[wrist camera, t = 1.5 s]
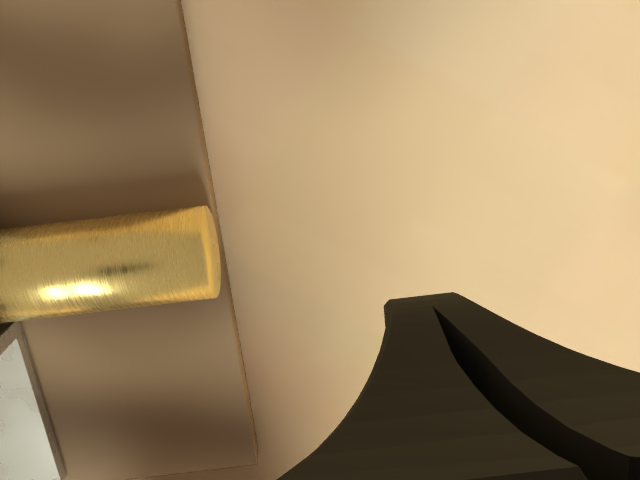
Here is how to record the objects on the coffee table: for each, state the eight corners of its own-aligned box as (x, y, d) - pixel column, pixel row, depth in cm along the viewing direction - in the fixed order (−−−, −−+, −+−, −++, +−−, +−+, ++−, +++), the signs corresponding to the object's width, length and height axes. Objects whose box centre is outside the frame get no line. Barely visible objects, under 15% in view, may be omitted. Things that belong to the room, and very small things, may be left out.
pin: (210, 195, 19) (195, 220, 16) (224, 276, 20) (212, 313, 17) (-105, 232, 19) (-171, 263, 16) (-76, 311, 20) (-135, 354, 17)
